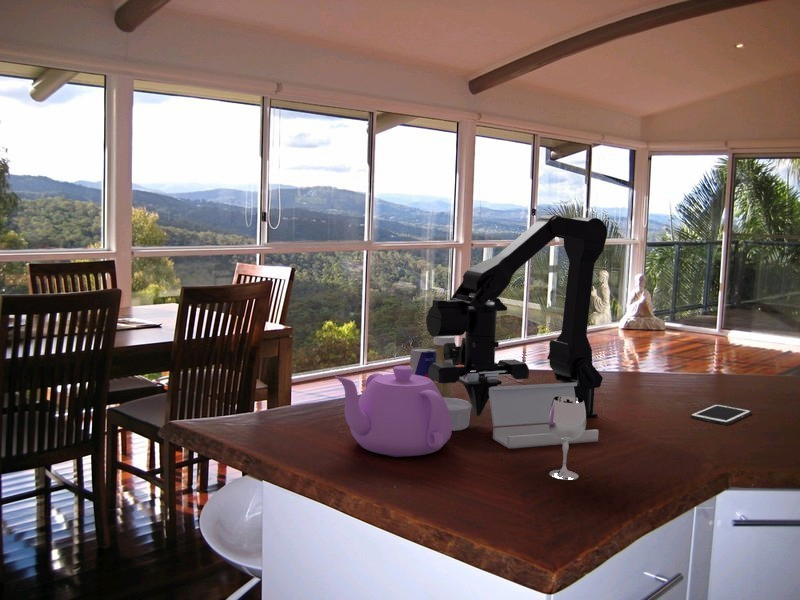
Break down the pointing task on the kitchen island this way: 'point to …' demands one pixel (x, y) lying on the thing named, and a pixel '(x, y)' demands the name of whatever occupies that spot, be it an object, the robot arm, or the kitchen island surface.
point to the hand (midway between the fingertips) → (477, 415)
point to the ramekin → (458, 412)
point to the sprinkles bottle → (439, 347)
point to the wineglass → (566, 427)
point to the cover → (525, 402)
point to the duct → (535, 436)
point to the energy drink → (422, 361)
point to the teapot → (397, 414)
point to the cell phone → (721, 414)
